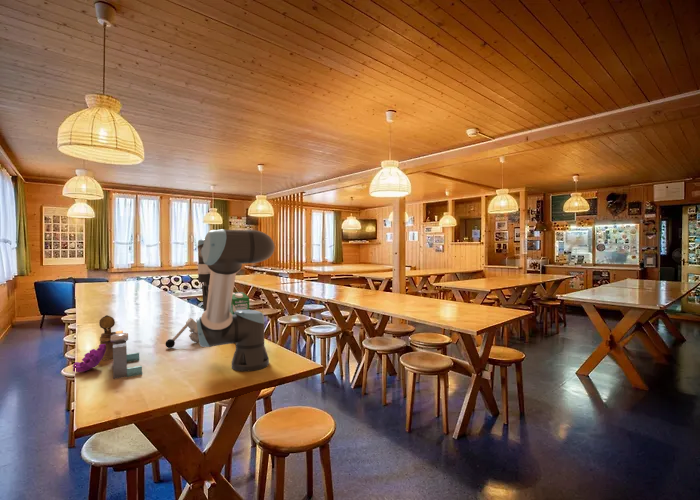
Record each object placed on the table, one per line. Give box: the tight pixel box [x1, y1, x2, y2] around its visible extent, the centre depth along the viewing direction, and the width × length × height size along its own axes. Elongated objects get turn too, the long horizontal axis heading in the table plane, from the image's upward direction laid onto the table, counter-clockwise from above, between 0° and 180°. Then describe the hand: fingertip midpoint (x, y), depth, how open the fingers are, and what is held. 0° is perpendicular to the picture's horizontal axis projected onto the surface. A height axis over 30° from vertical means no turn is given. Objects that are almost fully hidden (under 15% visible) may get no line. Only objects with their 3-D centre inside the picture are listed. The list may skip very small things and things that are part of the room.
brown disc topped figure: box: [99, 315, 116, 361], centre depth 165 cm, size 9×14×18 cm, turn 40°
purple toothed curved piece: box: [72, 344, 106, 373], centre depth 147 cm, size 11×15×10 cm
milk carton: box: [230, 291, 250, 315], centre depth 192 cm, size 9×9×25 cm
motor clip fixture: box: [111, 330, 143, 380], centre depth 148 cm, size 22×10×14 cm, turn 33°
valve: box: [165, 317, 199, 349], centre depth 183 cm, size 10×18×15 cm
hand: (207, 324), depth 165 cm, fingers closed
